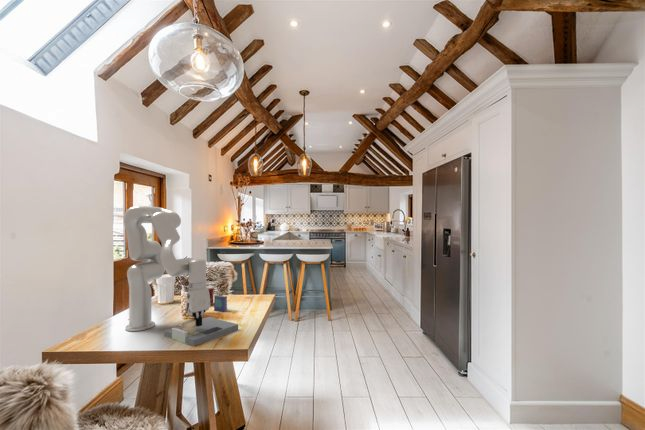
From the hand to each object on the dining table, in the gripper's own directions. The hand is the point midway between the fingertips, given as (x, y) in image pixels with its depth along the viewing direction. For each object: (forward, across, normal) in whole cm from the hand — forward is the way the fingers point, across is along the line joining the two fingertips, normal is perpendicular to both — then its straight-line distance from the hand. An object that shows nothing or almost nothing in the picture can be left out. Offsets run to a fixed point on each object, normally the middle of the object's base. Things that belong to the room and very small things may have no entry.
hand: (198, 325), depth 145 cm
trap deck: (+4, +2, +1) cm, 5 cm away
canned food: (+4, +35, +41) cm, 54 cm away
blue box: (+4, +31, +23) cm, 39 cm away
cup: (+3, +24, +68) cm, 72 cm away
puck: (+1, -5, 0) cm, 5 cm away
